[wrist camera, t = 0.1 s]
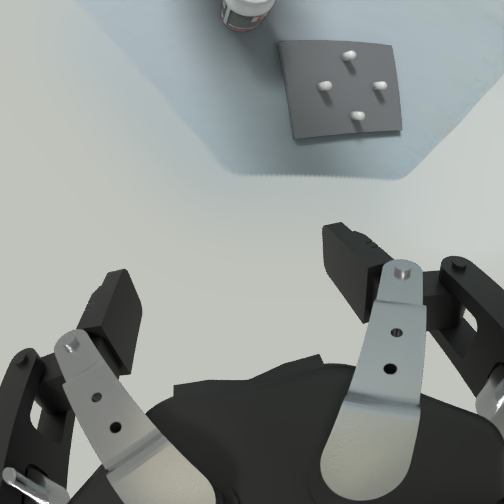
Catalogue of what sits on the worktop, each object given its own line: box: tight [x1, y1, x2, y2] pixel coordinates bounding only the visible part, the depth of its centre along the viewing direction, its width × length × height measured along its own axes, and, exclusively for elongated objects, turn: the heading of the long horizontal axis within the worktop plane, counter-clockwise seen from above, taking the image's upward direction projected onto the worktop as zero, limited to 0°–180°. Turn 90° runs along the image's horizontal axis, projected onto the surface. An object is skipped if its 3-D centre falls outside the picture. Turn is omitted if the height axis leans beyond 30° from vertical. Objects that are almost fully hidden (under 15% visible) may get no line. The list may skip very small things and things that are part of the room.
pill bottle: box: [221, 0, 275, 31], centre depth 24 cm, size 6×6×10 cm
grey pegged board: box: [277, 40, 402, 139], centre depth 34 cm, size 14×18×4 cm
